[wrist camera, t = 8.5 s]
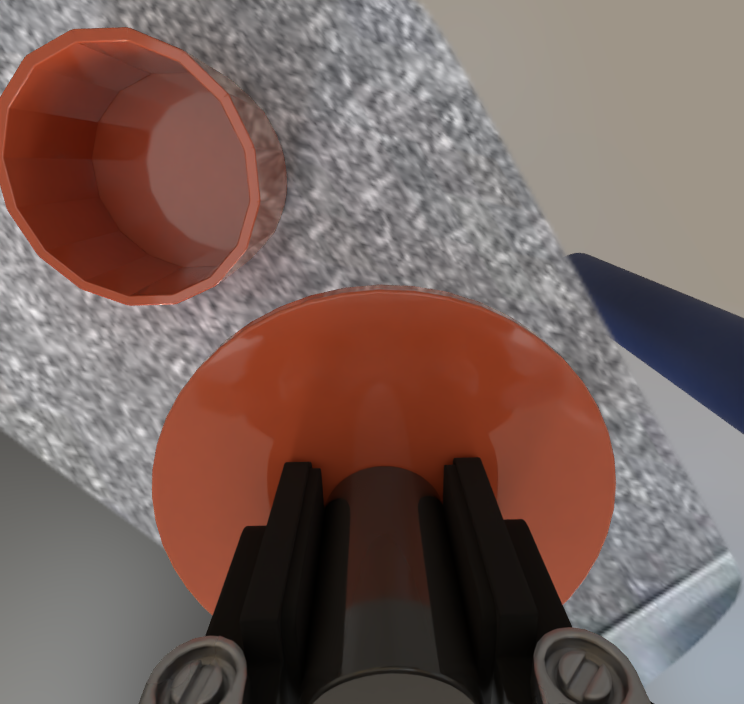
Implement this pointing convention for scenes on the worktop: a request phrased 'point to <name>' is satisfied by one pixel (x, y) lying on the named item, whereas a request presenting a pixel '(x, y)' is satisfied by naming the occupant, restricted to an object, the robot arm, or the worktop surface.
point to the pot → (137, 166)
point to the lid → (383, 472)
